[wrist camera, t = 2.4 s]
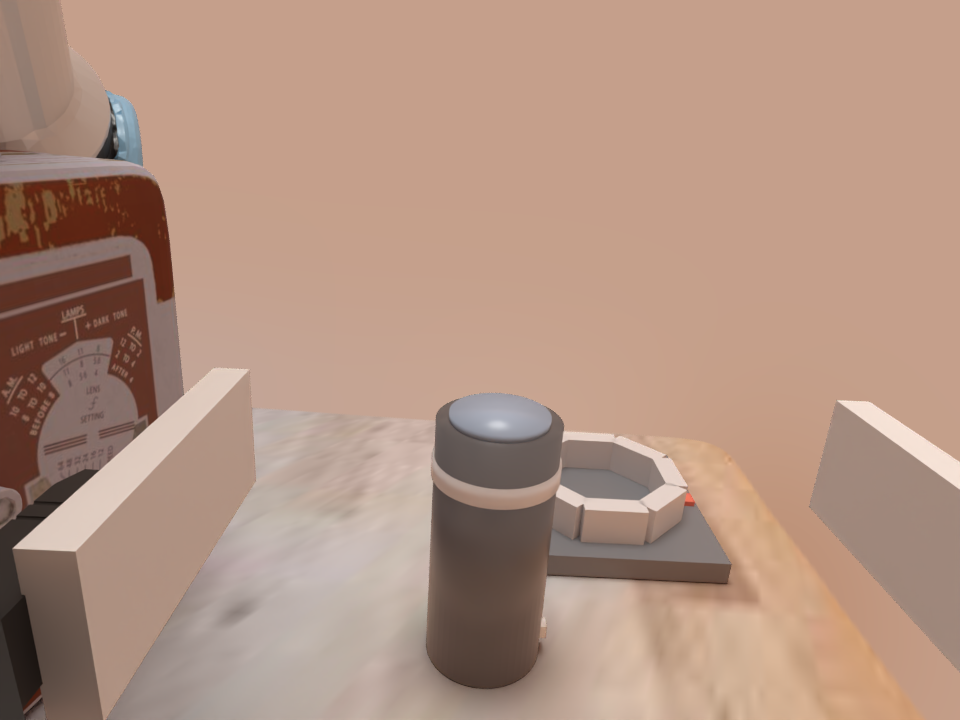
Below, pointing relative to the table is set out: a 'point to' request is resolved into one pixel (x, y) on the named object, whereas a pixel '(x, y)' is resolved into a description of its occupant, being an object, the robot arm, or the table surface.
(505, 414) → the lens
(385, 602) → the table surface
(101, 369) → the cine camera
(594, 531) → the mount plate
